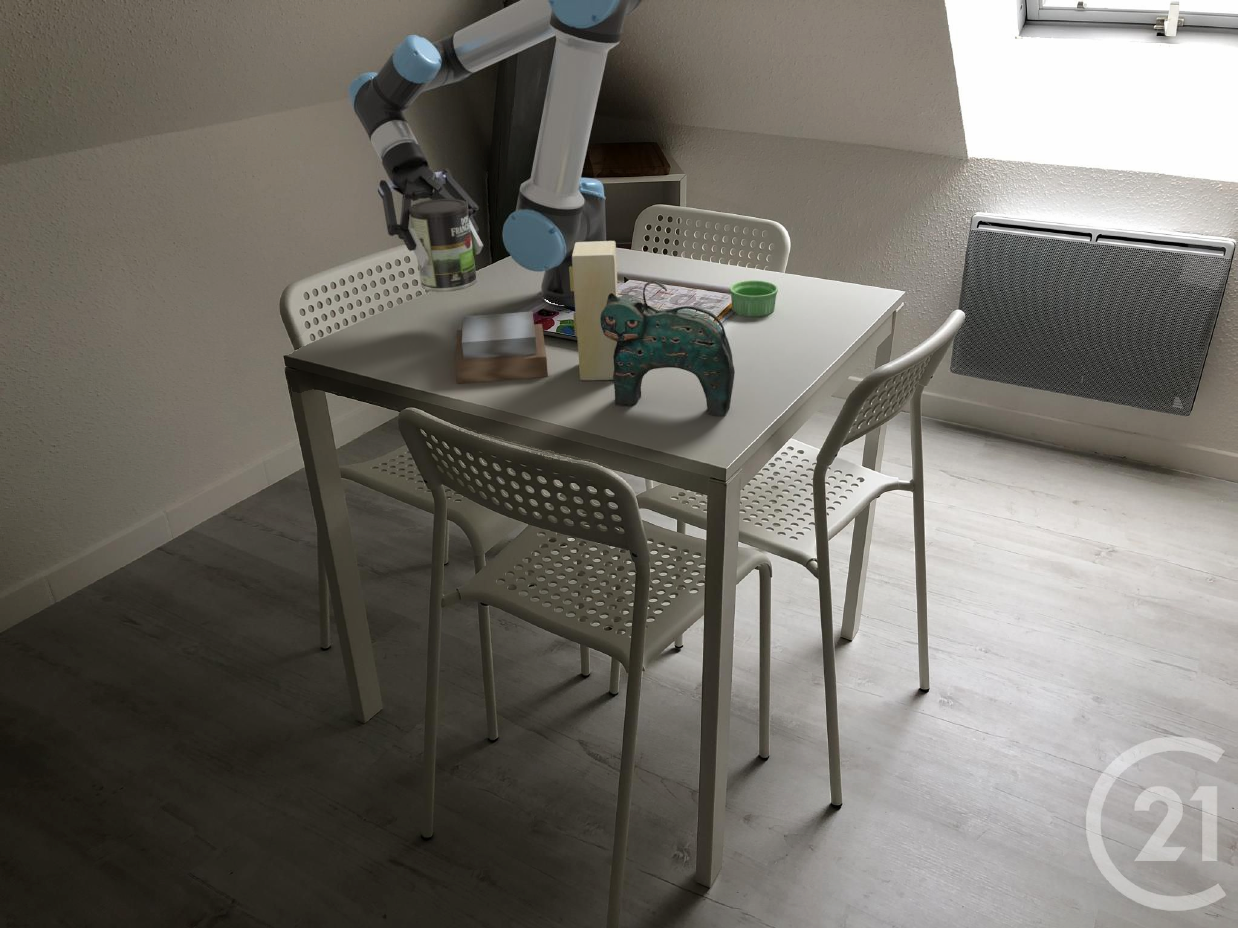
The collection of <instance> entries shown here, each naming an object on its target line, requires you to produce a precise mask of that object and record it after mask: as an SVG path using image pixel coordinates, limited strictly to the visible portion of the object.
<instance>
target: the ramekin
mask: <svg viewBox="0 0 1238 928" xmlns="http://www.w3.org/2000/svg"><path fill="white" fill-rule="evenodd" d="M729 292H730V296H731V297H730V299H731V309H732V311H733V312H734V313H735V314H737V315H740V316H743V317H749V318H753V317H754V318H758V317H765V316H768V315H770V314H772V313H773V312H774V311H775V307H776V300H777V293H778V292H779V288H778V286H777V285H776V284H774V283H772V282H769V281H764V280H742V281H739V282H734V283H733V284H731V286H730V287H729Z"/></svg>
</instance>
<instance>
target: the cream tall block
mask: <svg viewBox="0 0 1238 928" xmlns="http://www.w3.org/2000/svg"><path fill="white" fill-rule="evenodd" d="M617 269H618V266H617V245H616V241H615V240H606V241H595V242H576V243H575V246H574V250H573V254H572V266H571V267H569V273H570V287H571V291H574V296H575V307H574V310H575V312H573V327H574V336H575V337H577V352H578V353H577V354H578V365H579V366H578V367H579V379H580V381H610V380H611V381H612V380H613V373H614V359H613V356H614V351H615V347H616V344H617V341H614V340H612V339H610V338H608V337H607V336H605V335H604V333H603V330H602V327H601V321H600V317H601V313H602V311H603V310H604V308H605V306H606V304H607V299H608V295H609V294H610V293H613V294H615V295H616V296H617V297H619V290H618V270H617Z"/></svg>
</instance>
